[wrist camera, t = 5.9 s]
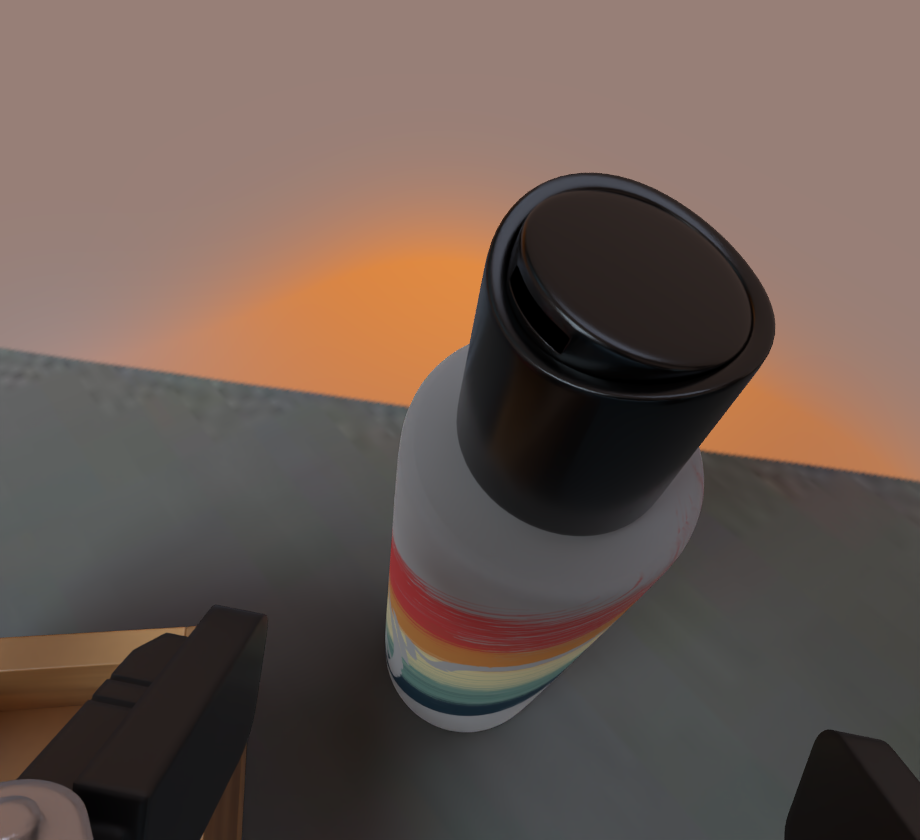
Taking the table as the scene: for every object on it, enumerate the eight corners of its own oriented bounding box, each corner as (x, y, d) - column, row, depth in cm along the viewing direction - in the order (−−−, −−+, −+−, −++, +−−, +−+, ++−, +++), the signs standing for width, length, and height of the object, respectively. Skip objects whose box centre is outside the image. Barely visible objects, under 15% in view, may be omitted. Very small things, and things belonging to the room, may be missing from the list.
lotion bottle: (358, 612, 26) (339, 158, 9) (495, 550, 28) (690, 75, 11) (426, 767, 24) (570, 544, 7) (570, 688, 26) (972, 355, 8)
